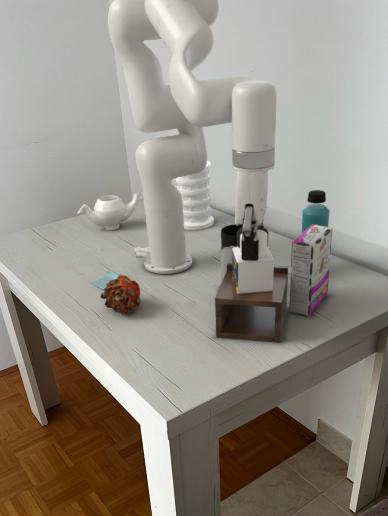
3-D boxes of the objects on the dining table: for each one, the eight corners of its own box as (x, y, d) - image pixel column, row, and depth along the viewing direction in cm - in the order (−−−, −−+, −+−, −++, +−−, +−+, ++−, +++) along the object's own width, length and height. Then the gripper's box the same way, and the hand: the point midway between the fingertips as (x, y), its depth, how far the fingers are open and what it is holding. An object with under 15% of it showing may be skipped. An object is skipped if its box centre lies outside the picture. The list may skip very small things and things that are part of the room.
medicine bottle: (232, 279, 114) (231, 223, 107) (266, 276, 114) (267, 220, 108) (237, 294, 108) (236, 236, 101) (273, 291, 108) (275, 233, 101)
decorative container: (206, 231, 163) (204, 170, 153) (170, 228, 166) (166, 168, 157) (218, 218, 172) (217, 159, 162) (184, 215, 175) (181, 158, 166)
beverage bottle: (325, 277, 132) (332, 196, 122) (297, 276, 134) (302, 195, 123) (325, 266, 138) (332, 187, 127) (298, 265, 139) (303, 187, 128)
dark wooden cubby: (216, 337, 112) (214, 292, 106) (228, 305, 123) (227, 263, 118) (280, 342, 109) (282, 296, 103) (286, 309, 120) (288, 266, 115)
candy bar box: (307, 291, 127) (311, 223, 118) (327, 295, 124) (334, 226, 116) (287, 312, 119) (290, 241, 110) (309, 317, 117) (314, 245, 108)
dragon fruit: (127, 329, 119) (117, 312, 130) (155, 301, 119) (143, 286, 130) (99, 304, 115) (91, 288, 126) (127, 275, 115) (117, 262, 125)
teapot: (77, 228, 170) (72, 199, 165) (138, 217, 176) (135, 188, 171) (84, 238, 163) (79, 208, 158) (147, 226, 169) (144, 196, 164)
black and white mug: (214, 296, 127) (212, 235, 119) (233, 271, 138) (232, 213, 130) (250, 301, 124) (251, 238, 116) (267, 275, 135) (268, 216, 127)
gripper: (240, 146, 105) (240, 235, 115) (223, 171, 91) (225, 269, 101) (279, 147, 104) (276, 236, 113) (269, 172, 89) (266, 271, 99)
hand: (252, 251), depth 107 cm, fingers closed on medicine bottle, 6 cm apart
